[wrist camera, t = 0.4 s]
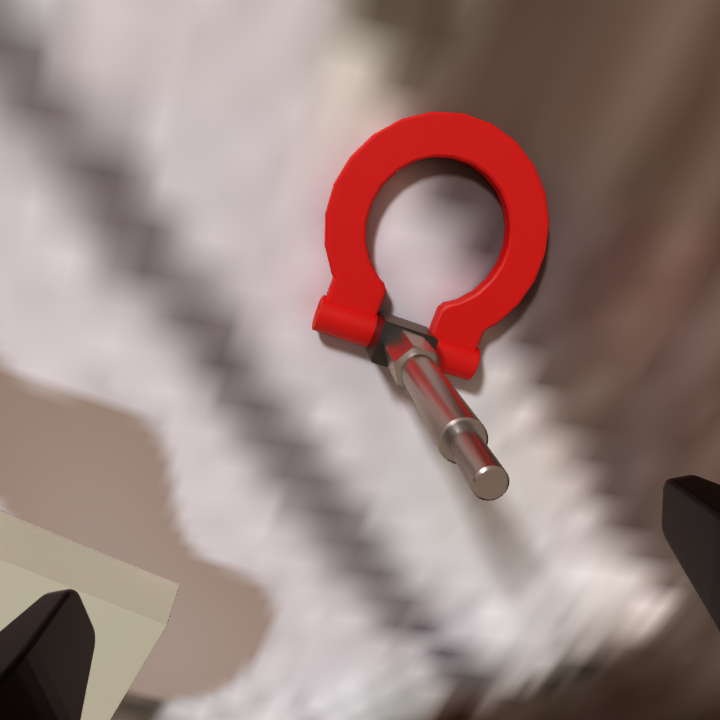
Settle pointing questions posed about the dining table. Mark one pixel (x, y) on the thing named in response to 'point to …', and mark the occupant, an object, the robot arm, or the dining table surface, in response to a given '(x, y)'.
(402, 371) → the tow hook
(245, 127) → the dining table surface
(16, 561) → the hole board
